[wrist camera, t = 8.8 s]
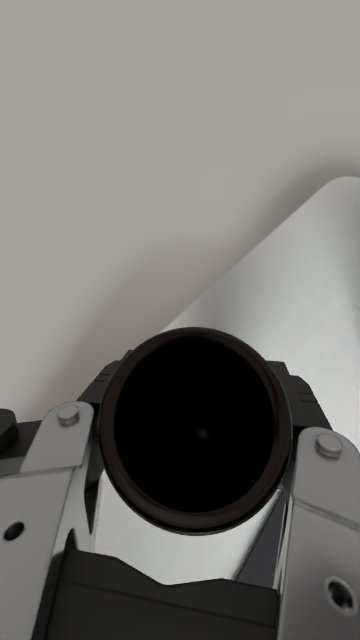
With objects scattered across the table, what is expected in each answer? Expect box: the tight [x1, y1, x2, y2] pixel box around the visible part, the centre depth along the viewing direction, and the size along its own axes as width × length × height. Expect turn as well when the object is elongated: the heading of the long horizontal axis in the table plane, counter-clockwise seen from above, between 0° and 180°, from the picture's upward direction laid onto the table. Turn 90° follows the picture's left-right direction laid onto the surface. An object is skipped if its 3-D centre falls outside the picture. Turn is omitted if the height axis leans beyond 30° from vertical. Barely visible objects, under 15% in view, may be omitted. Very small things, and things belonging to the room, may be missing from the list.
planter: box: [98, 327, 293, 536], centre depth 11 cm, size 4×4×10 cm
